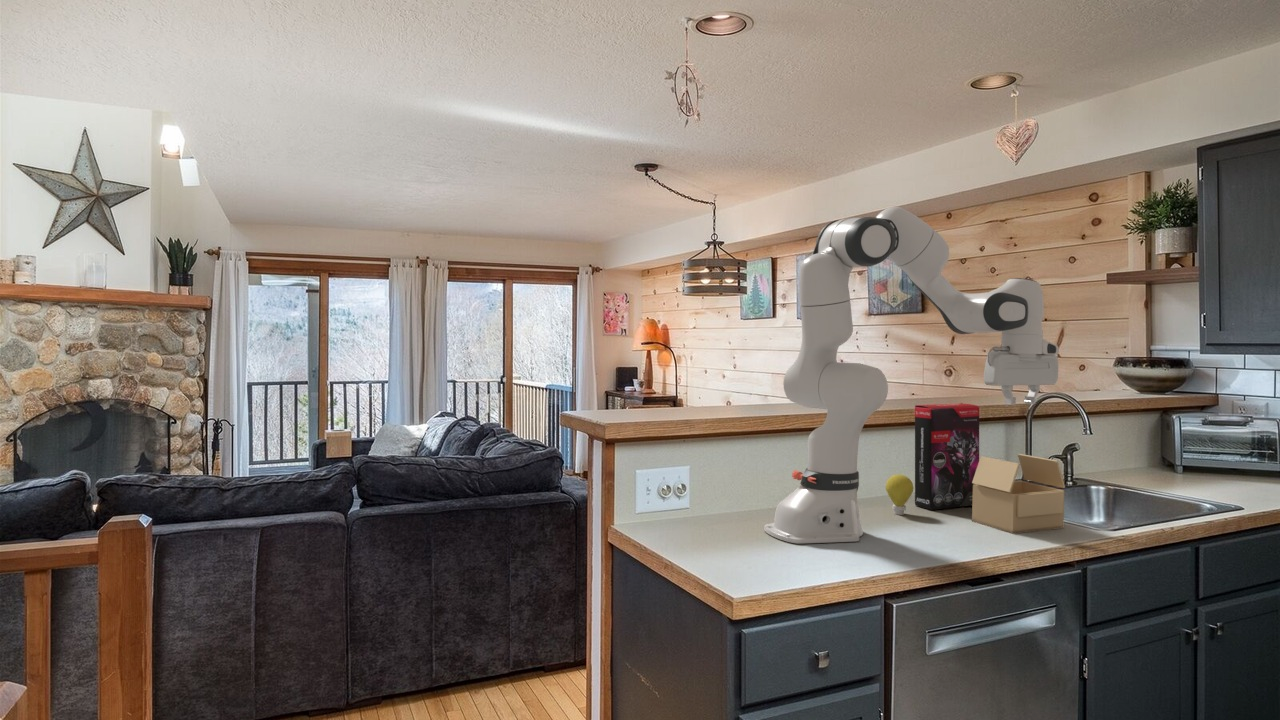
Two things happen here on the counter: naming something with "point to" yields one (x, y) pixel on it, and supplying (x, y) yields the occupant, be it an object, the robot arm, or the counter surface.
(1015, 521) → the carton
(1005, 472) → the flap near
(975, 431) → the graphics card box
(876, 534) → the counter surface
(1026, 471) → the flap far
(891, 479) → the light bulb
